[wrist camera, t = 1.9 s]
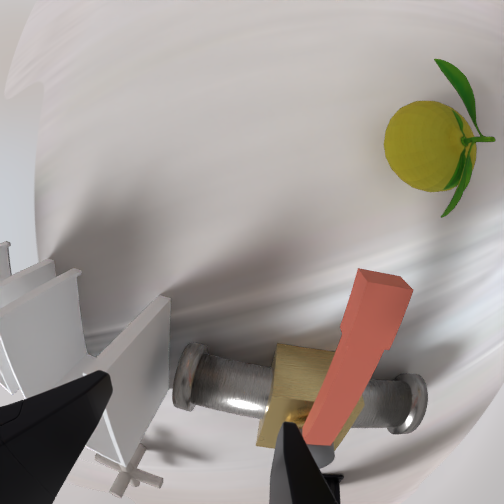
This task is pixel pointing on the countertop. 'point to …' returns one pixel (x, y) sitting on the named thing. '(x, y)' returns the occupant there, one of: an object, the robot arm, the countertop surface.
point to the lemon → (435, 141)
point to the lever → (355, 356)
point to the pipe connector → (129, 473)
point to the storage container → (82, 352)
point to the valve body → (291, 391)
